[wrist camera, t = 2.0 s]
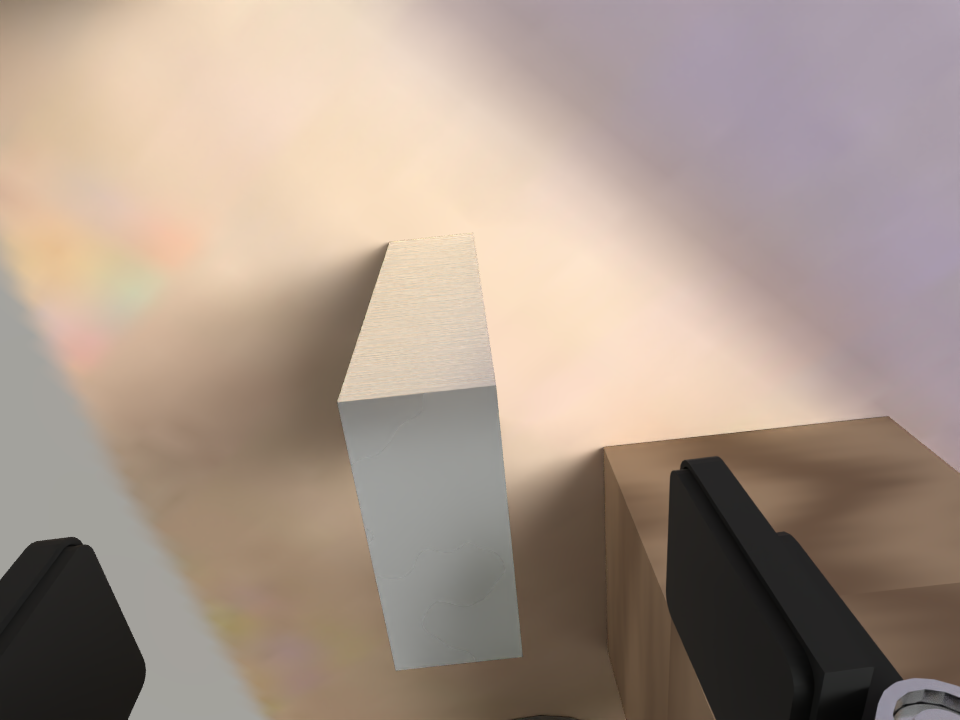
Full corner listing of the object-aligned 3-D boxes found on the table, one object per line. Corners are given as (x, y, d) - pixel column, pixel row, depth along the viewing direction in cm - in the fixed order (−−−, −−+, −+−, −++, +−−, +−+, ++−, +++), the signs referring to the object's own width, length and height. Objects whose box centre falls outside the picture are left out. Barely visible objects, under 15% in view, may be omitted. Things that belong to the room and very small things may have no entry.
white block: (473, 232, 19) (495, 385, 10) (491, 408, 22) (522, 657, 13) (389, 241, 19) (337, 402, 10) (417, 416, 22) (395, 670, 13)
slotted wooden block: (888, 416, 22) (1302, 748, 12) (847, 625, 27) (1123, 1012, 16) (603, 447, 22) (750, 808, 12) (607, 651, 27) (718, 1056, 16)
